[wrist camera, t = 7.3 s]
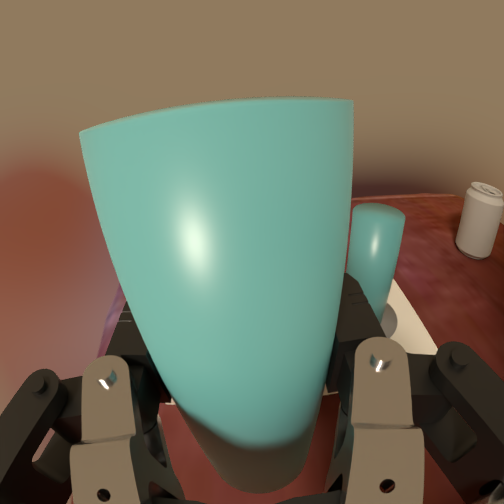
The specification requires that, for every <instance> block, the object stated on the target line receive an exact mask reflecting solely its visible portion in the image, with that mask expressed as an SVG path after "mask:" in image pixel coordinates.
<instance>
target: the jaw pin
mask: <svg viewBox="0 0 504 504" xmlns="http://www.w3.org/2000/svg"><path fill="white" fill-rule="evenodd" d="M353 110H354V107H353V101H352V100H348V99H339V98H328V97H306V96H304V97H303V96H276V97H252V98H238V99H227V100H218V101H209V102H201V103H194V104H187V105H181V106H175V107H169V108H164V109H159V110H154V111H149V112H145V113H140V114H136V115H132V116H128V117H124V118H120V119H116V120H113V121H110V122H106V123H103V124H100V125H97V126H94V127H91V128H88V129H85V130H83V131H81V132H79V137H80V142H81V147H82V152H83V157H84V162H85V167H86V170H87V175H88V180H89V183H90V187H91V191H92V196H93V199H94V203H95V207H96V210H97V214H98V218H99V221H100V224H101V227H102V231H103V234H104V238H105V241H106V243H107V247H108V250H109V253H110V256H111V259H112V262H113V265H114V268H115V270H116V273H117V276H118V279H119V282H120V284H121V287H122V290H123V292H124V295H125V297H126V300H127V302H128V305H129V307H130V310H131V312H132V315H133V317H134V320H135V322H136V324H137V327H138V329H139V331H140V333H141V336H142V338H143V340H144V342H145V345H146V347H147V349H148V351H149V353H150V355H151V357H152V360H153V362H154V364H155V366H156V368H157V370H158V372H159V374H160V376H161V378H162V380H163V382H164V384H165V386H166V388H167V389H168V391H169V393H170V395H171V397H172V399H173V401H174V402H175V404H176V406H177V408H178V410H179V411H180V413H181V415H182V417H183V419H184V420H185V422H186V424H187V425H188V427H189V429H190V430H191V432H192V434H193V435H194V437H195V439H196V440H197V442H198V444H199V445H200V447H201V448H202V450H203V451H204V453H205V455H206V456H207V458H208V459H209V461H210V462H211V464H212V465H213V467H214V468H215V470H216V471H217V472H218V474H219V475H220V476H221V478H222V479H223V480H224V481H225V482H226V483H228V484H229V485H231V486H232V487H234V488H236V489H238V490H241V491H244V492H249V493H268V492H273V491H276V490H279V489H281V488H283V487H285V486H287V485H288V484H290V483H291V482H292V481H293V480H294V479H296V478H297V476H298V475H299V474H300V473H301V471H302V469H303V467H304V465H305V462H306V459H307V455H308V452H309V448H310V444H311V441H312V437H313V433H314V429H315V426H316V422H317V418H318V414H319V409H320V405H321V401H322V397H323V392H324V388H325V383H326V378H327V374H328V369H329V364H330V359H331V353H332V348H333V342H334V337H335V331H336V325H337V319H338V313H339V306H340V299H341V292H342V285H343V277H344V269H345V260H346V251H347V241H348V231H349V219H350V206H351V189H352V171H353V133H354V130H353V129H354V118H353V117H354V112H353Z"/></svg>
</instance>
